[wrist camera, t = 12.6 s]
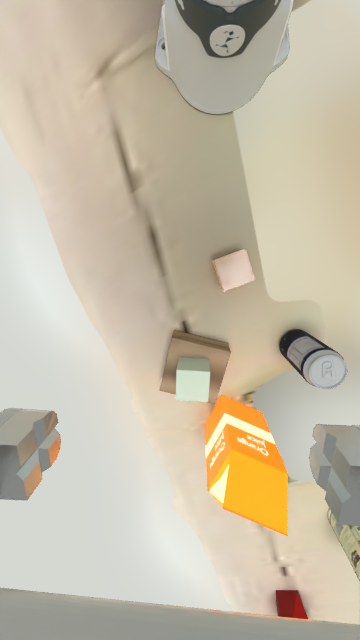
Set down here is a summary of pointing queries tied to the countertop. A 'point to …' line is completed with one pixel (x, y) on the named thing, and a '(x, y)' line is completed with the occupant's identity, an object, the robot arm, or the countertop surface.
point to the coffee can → (348, 541)
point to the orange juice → (245, 465)
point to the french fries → (290, 604)
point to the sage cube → (192, 379)
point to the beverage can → (313, 359)
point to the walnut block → (196, 348)
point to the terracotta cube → (233, 270)
